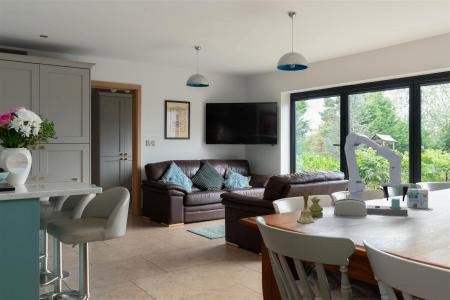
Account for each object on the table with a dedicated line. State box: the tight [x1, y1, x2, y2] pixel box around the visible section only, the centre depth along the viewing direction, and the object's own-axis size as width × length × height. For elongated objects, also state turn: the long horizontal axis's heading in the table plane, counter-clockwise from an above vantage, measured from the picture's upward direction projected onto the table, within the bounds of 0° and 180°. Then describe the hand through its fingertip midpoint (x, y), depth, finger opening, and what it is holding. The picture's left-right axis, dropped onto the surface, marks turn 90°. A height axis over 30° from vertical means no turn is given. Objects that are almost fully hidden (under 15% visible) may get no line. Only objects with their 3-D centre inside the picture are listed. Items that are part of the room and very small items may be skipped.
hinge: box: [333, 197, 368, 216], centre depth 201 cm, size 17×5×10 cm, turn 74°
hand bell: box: [296, 188, 315, 224], centre depth 183 cm, size 8×8×16 cm
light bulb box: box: [406, 188, 429, 209], centre depth 225 cm, size 11×7×11 cm, turn 73°
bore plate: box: [366, 204, 409, 217], centre depth 205 cm, size 20×12×3 cm, turn 67°
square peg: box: [390, 197, 401, 209], centre depth 203 cm, size 4×4×8 cm
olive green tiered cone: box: [308, 196, 324, 218], centre depth 197 cm, size 7×7×10 cm
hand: (395, 200), depth 203 cm, fingers open, 7 cm apart
